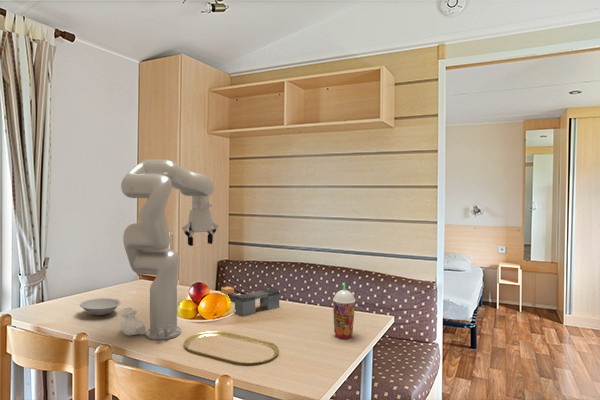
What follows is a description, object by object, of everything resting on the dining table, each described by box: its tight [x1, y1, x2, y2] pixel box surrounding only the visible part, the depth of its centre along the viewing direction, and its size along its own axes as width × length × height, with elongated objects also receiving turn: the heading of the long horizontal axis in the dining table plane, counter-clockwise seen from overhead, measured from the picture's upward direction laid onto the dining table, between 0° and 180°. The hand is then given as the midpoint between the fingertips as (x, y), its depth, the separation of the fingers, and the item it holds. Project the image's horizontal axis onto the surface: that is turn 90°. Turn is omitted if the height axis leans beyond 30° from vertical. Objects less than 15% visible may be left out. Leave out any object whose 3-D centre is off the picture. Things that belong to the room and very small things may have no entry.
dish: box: [79, 297, 122, 316], centre depth 172 cm, size 18×14×5 cm
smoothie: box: [332, 282, 356, 340], centre depth 152 cm, size 8×8×20 cm
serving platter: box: [183, 330, 280, 366], centre depth 139 cm, size 19×35×2 cm, turn 63°
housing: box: [234, 288, 280, 317], centre depth 182 cm, size 6×20×8 cm, turn 133°
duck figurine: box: [119, 306, 146, 337], centre depth 151 cm, size 12×8×11 cm
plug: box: [220, 286, 238, 303], centre depth 194 cm, size 20×4×5 cm, turn 42°
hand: (200, 244), depth 185 cm, fingers open, 9 cm apart
